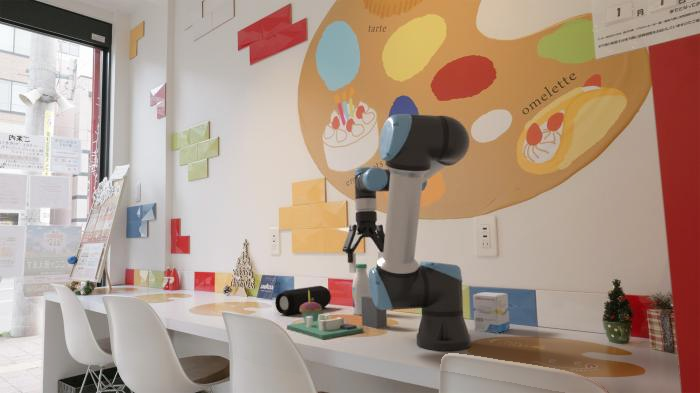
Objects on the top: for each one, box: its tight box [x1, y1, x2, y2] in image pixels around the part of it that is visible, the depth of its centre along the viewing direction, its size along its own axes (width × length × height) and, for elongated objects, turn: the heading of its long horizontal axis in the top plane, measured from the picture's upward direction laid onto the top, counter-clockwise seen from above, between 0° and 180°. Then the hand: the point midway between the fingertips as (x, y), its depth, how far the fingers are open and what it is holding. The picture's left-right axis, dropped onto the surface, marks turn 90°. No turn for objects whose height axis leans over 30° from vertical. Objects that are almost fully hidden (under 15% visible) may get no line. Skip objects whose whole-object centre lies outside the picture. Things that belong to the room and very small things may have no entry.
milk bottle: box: [351, 263, 371, 316], centre depth 184 cm, size 8×8×20 cm
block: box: [361, 296, 388, 330], centre depth 157 cm, size 9×4×10 cm, turn 37°
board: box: [286, 313, 364, 340], centre depth 151 cm, size 22×16×4 cm
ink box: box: [472, 291, 511, 334], centre depth 147 cm, size 8×8×12 cm
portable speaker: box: [274, 285, 332, 316], centre depth 192 cm, size 26×10×10 cm, turn 141°
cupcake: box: [300, 289, 323, 321], centre depth 170 cm, size 9×8×12 cm
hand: (367, 271), depth 158 cm, fingers open, 13 cm apart
